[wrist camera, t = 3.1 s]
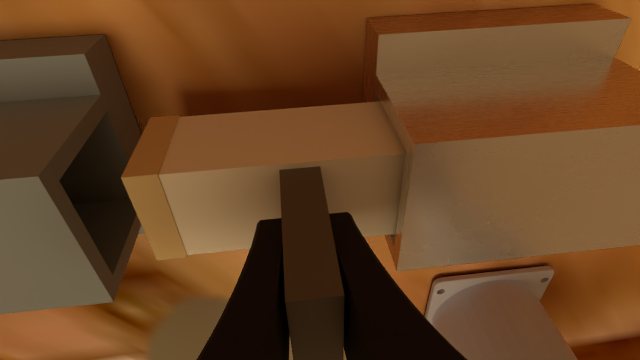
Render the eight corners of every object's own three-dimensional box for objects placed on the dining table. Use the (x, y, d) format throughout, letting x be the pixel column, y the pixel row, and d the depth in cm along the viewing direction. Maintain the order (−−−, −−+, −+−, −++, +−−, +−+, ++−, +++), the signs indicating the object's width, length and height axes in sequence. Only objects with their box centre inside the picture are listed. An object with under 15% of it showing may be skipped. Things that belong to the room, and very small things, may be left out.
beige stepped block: (593, 3, 15) (765, 68, 10) (530, 168, 20) (623, 269, 15) (366, 18, 14) (422, 95, 9) (359, 184, 19) (393, 295, 14)
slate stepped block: (104, 34, 14) (8, 126, 9) (166, 202, 19) (127, 325, 14) (-43, 43, 13) (-237, 145, 8) (59, 212, 18) (-23, 342, 13)
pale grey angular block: (532, 87, 14) (733, 245, 8) (507, 163, 17) (651, 334, 10) (150, 117, 14) (51, 320, 7) (175, 193, 16) (116, 400, 9)
